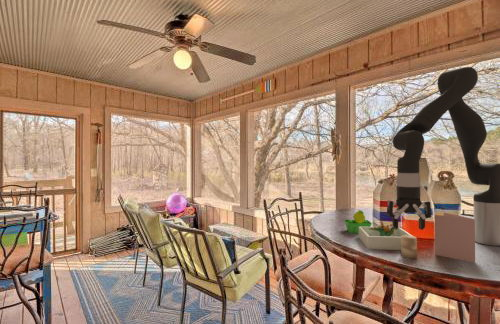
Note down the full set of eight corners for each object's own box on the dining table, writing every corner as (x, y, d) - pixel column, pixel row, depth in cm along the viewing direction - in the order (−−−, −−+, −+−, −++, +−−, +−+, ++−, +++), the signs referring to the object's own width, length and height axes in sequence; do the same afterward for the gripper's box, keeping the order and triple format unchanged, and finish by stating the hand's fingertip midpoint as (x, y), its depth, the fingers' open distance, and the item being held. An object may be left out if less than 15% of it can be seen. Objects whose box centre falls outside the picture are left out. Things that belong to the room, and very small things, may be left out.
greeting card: (477, 262, 90) (476, 218, 90) (459, 264, 89) (459, 220, 89) (446, 250, 101) (445, 212, 101) (430, 252, 100) (429, 213, 100)
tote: (400, 238, 118) (399, 227, 118) (415, 250, 103) (415, 237, 103) (358, 237, 121) (358, 226, 121) (368, 248, 106) (367, 236, 106)
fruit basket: (367, 229, 134) (366, 207, 134) (373, 234, 125) (373, 211, 125) (344, 229, 135) (343, 207, 135) (348, 234, 126) (348, 211, 126)
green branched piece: (399, 240, 112) (398, 221, 112) (370, 240, 113) (369, 222, 113) (395, 238, 115) (395, 220, 115) (367, 238, 116) (367, 220, 116)
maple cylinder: (413, 253, 99) (413, 235, 99) (419, 258, 94) (419, 239, 94) (399, 253, 100) (398, 235, 100) (404, 258, 95) (404, 239, 95)
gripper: (391, 186, 94) (391, 230, 95) (434, 186, 92) (435, 232, 92) (384, 184, 102) (384, 225, 102) (424, 184, 99) (424, 226, 100)
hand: (408, 228), depth 97 cm, fingers open, 8 cm apart
